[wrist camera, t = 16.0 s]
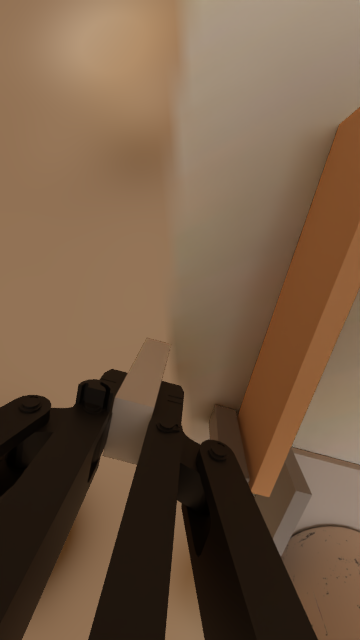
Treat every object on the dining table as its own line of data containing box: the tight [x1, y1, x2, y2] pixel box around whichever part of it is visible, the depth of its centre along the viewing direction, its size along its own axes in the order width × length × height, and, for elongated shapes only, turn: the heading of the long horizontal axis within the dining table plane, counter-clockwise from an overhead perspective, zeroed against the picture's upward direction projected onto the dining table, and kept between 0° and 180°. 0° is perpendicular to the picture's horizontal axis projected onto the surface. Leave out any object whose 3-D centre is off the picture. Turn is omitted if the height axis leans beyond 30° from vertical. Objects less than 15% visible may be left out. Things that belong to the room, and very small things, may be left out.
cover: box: [237, 107, 360, 497], centre depth 14 cm, size 19×1×6 cm, turn 167°
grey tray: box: [209, 405, 360, 556], centre depth 19 cm, size 23×19×6 cm
